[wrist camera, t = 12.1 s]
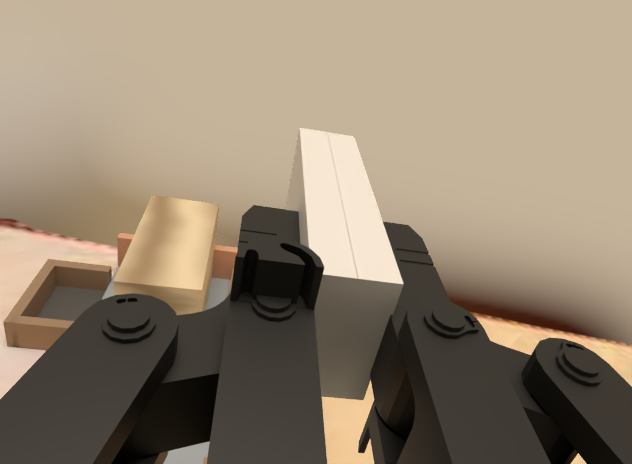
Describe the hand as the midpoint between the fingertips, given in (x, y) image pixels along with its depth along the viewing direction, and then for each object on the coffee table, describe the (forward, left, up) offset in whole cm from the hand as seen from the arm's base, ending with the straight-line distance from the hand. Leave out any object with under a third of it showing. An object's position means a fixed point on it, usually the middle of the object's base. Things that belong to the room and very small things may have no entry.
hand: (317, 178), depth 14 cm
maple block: (+8, -28, -31) cm, 42 cm away
